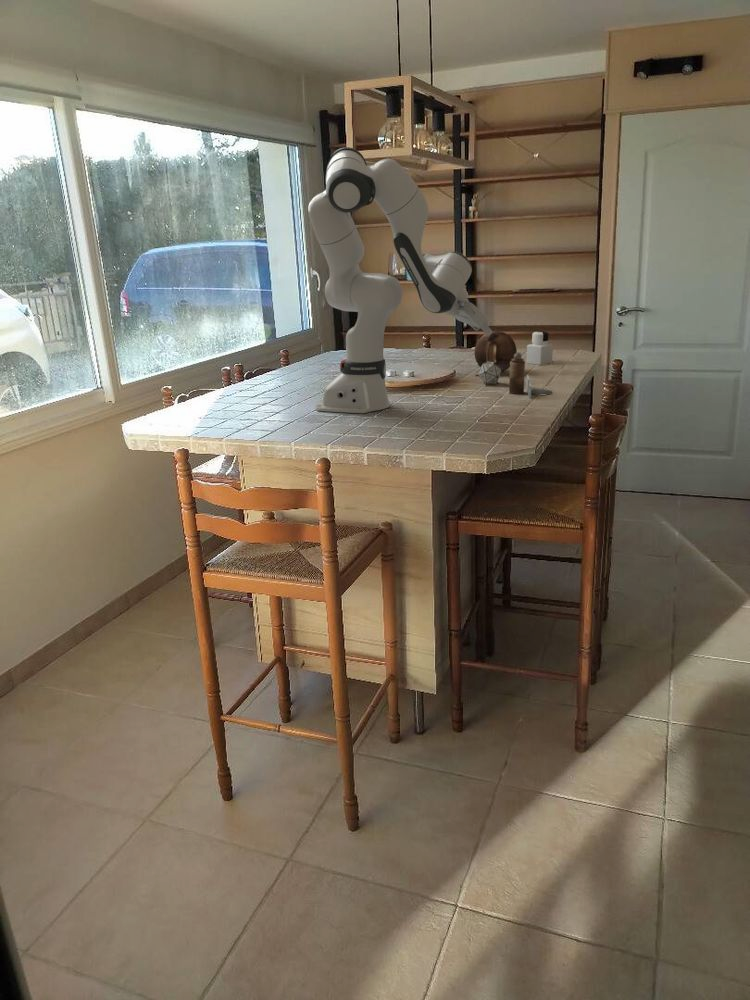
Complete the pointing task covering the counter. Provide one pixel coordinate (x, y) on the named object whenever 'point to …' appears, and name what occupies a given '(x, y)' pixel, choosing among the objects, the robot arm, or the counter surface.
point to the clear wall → (528, 386)
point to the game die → (489, 372)
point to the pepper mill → (517, 374)
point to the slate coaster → (540, 391)
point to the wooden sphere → (495, 349)
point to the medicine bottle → (539, 349)
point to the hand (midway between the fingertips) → (484, 331)
